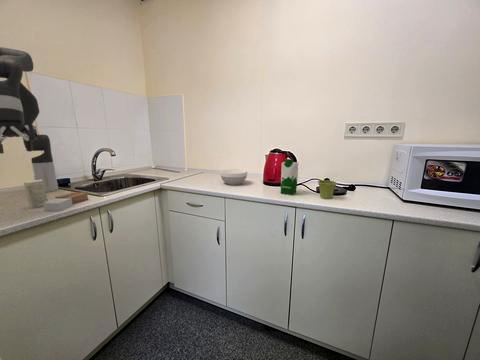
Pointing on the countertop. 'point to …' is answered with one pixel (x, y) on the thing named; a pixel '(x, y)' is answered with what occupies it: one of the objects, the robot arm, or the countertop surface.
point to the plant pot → (326, 188)
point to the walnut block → (75, 197)
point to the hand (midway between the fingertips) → (15, 152)
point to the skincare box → (35, 193)
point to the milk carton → (289, 177)
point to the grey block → (58, 204)
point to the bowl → (233, 176)
